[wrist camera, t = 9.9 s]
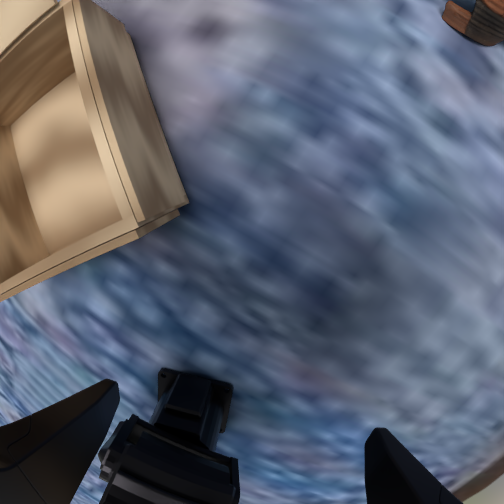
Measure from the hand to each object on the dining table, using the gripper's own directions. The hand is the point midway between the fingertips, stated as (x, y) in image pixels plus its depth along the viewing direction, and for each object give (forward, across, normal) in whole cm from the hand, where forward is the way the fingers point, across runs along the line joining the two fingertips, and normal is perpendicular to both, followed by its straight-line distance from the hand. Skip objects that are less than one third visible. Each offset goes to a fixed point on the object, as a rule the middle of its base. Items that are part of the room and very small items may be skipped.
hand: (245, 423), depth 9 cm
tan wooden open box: (+13, +16, -7) cm, 21 cm away
